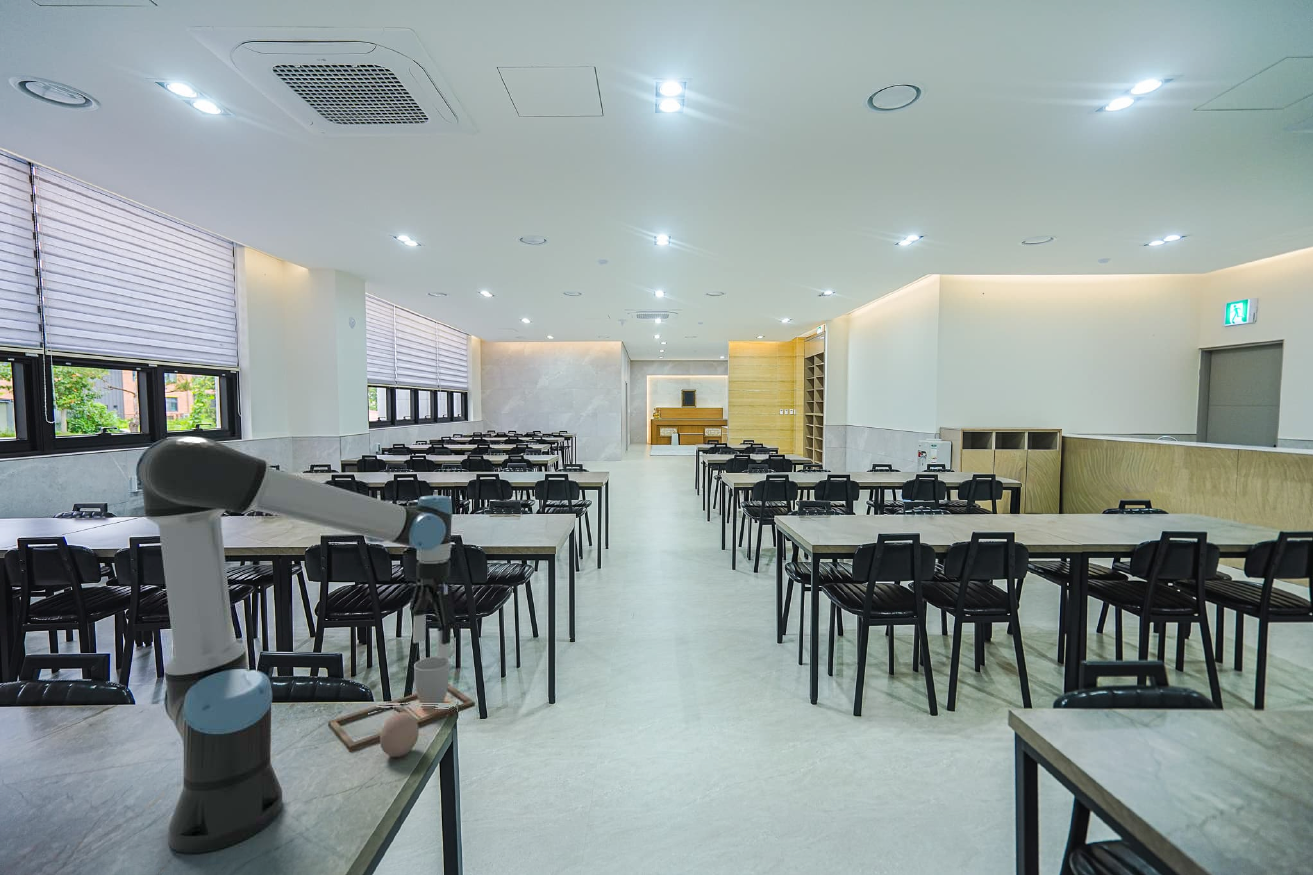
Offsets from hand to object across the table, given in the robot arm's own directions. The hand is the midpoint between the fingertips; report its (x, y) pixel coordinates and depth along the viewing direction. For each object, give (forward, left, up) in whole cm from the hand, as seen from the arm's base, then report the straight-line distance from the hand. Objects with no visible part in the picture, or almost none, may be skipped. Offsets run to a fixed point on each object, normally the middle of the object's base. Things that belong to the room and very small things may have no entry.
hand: (430, 649), depth 134 cm
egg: (-15, +13, -14) cm, 25 cm away
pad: (0, 0, -14) cm, 14 cm away
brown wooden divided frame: (0, +6, -14) cm, 15 cm away
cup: (0, 0, -14) cm, 14 cm away
